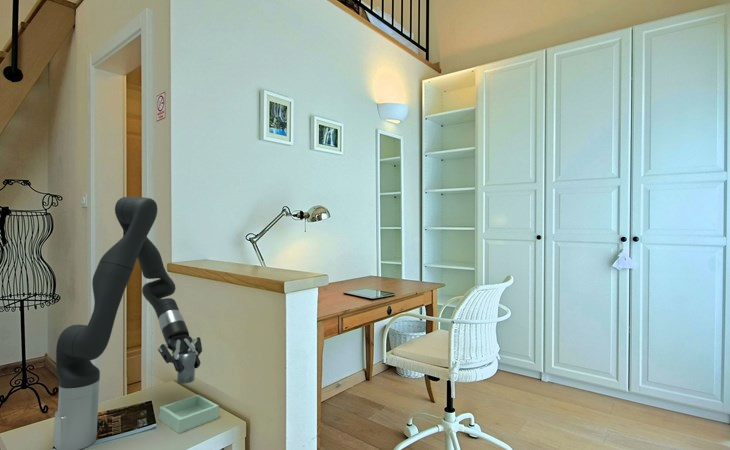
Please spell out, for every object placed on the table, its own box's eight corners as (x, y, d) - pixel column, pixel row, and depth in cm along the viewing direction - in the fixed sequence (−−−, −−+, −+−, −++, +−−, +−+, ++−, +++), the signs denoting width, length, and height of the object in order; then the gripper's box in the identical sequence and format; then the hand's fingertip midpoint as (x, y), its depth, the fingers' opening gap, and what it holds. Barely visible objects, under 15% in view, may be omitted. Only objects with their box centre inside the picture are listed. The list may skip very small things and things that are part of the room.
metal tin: (181, 384, 121) (183, 356, 121) (174, 380, 124) (175, 353, 124) (197, 380, 125) (198, 353, 125) (189, 376, 128) (191, 349, 129)
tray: (178, 433, 114) (179, 420, 114) (159, 419, 122) (159, 407, 122) (218, 417, 124) (218, 405, 124) (197, 406, 132) (198, 394, 132)
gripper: (155, 323, 124) (172, 368, 116) (197, 316, 135) (214, 357, 128) (147, 336, 127) (162, 381, 119) (188, 329, 138) (205, 369, 131)
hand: (189, 368), depth 124 cm, fingers closed on metal tin, 5 cm apart
